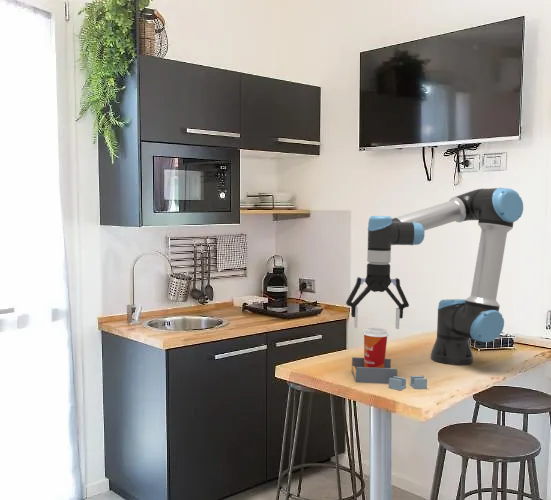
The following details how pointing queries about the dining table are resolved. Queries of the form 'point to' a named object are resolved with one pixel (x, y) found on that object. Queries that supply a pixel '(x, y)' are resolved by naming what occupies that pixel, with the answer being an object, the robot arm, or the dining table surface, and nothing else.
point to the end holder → (372, 372)
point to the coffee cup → (374, 347)
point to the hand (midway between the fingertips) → (376, 327)
